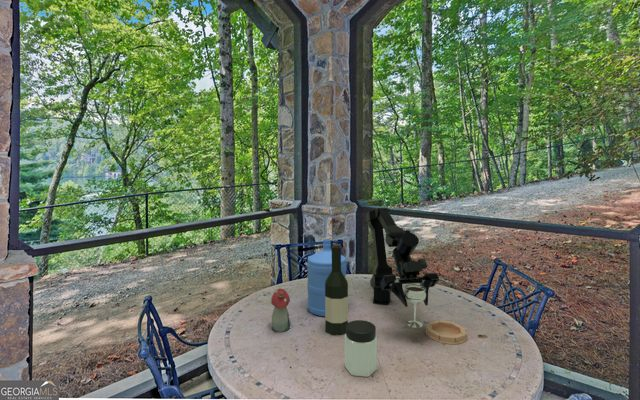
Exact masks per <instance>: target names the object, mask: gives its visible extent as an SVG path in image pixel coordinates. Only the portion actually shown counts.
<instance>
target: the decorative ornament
mask: <svg viewBox="0 0 640 400" xmlns="http://www.w3.org/2000/svg"><path fill="white" fill-rule="evenodd" d="M270 300H271V301H270V303H271V305H272V306H273V307H274V308H273V310H272V314H271V327H272V330H274V331H275V332H278V333H279V332H281V333H282V332H287V331H288V330H289V329H290V328H291V319H290V315H289V310H288V307H287V306H288V305H289V303H290V302H291V299H290V295H289V293H288V292H287V290H285V289H284V288H278V289H277V290H275V291H274V292H273V294H272V297H271V299H270Z"/></svg>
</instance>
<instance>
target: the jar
mask: <svg viewBox="0 0 640 400" xmlns="http://www.w3.org/2000/svg"><path fill="white" fill-rule="evenodd" d="M376 330H377V329H376V326H375V324H374V323H372V322H371V321H368V320H363V319H362V320H361V319H359V320H358V319H357V320H352V321H348V324H347V325H346V333H345V334H344V367H345V368H346V369H347V371H348V372H349V374H350V375H351V376H357V377H367V378H368V377H370V376H372V374H373V373H375V372H376V371H377V370H378V336H377V335H376V332H377V331H376Z"/></svg>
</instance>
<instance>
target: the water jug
mask: <svg viewBox="0 0 640 400" xmlns="http://www.w3.org/2000/svg"><path fill="white" fill-rule="evenodd" d="M331 245H332V244H331V239H323V240H322V250H320V251H317V252H316V253H314V254H312V255H309V256H308V258H307V265H306V266H307V268H306V269H307V310H308V312H310V313H311V314H312V315H315V316H318V317H325V281H326V279H327V278H328V276H329V274H330V273H331V271H332V246H331ZM347 266H348V265H347V258H346V257H345V255H342V254H341V271H342V273H343V275H344V276H345V277H346V276H347Z"/></svg>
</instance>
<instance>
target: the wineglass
mask: <svg viewBox="0 0 640 400" xmlns="http://www.w3.org/2000/svg"><path fill="white" fill-rule="evenodd" d="M404 289H405V290H404V294H405V297H406V300H407V302H408V303H410V304H411V305H413V320H408V321H406V325H407V326H409V327H410V328H413V329H415V328H416V329H417V328H419V329H420V328H422V327H423V323H422V322H421V321H417V320H416V319H417V318H416V316H417V315H416V314H417V306H418V305H419V304H423V303H424V300H425V298H426V292H425V291H426V288H425V287H424V286H421V285H420V284H416V283H414V284H405V286H404Z"/></svg>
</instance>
